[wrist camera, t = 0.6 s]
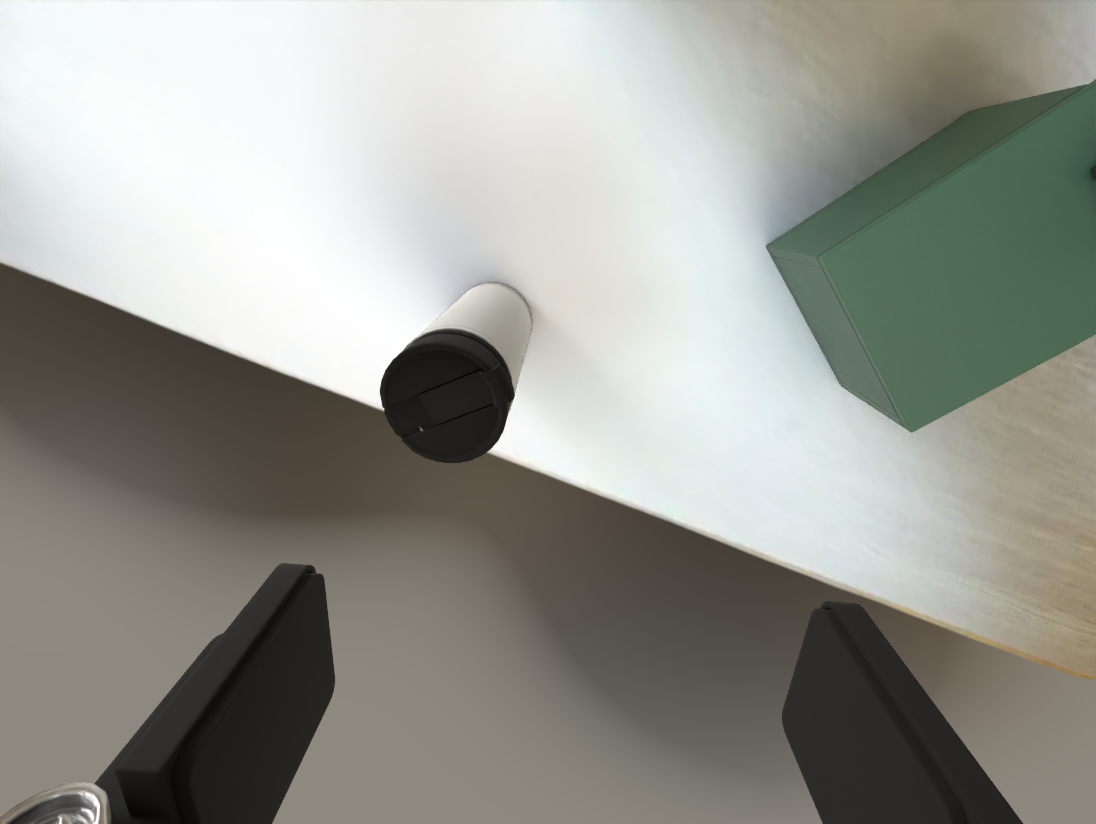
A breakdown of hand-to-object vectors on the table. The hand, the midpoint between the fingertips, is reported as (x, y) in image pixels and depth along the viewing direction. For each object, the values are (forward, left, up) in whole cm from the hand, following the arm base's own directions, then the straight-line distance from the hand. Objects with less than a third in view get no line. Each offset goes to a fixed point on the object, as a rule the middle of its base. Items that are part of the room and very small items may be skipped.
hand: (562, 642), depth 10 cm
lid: (+12, +23, -26) cm, 37 cm away
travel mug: (-2, -5, -35) cm, 35 cm away
